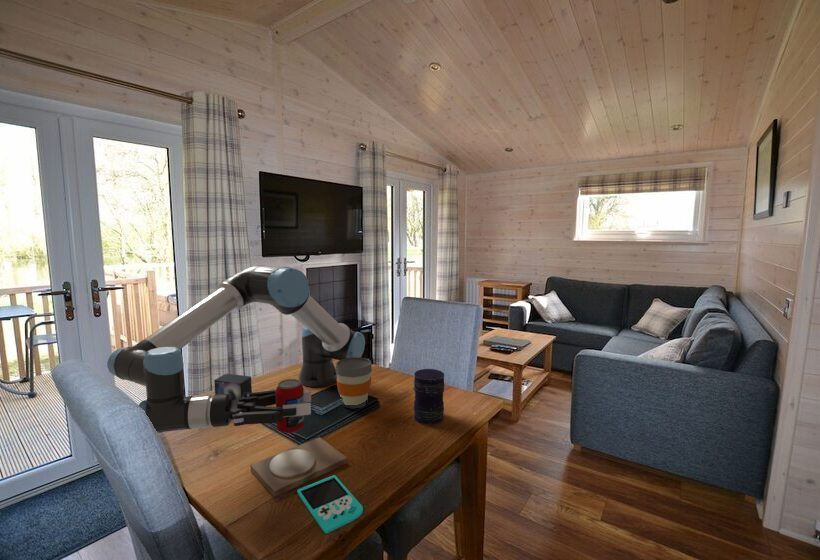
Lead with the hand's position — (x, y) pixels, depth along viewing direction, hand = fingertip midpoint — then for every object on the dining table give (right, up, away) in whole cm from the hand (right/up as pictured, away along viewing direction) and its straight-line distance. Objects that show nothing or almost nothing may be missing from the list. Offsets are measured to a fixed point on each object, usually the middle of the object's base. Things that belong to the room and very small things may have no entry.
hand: (310, 402), depth 101 cm
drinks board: (-3, -18, +3) cm, 18 cm away
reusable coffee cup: (+5, -13, +39) cm, 42 cm away
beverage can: (-5, -7, 0) cm, 8 cm away
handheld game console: (+7, -20, -11) cm, 24 cm away
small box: (-36, -13, +37) cm, 53 cm away
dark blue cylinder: (+31, -14, +30) cm, 45 cm away
